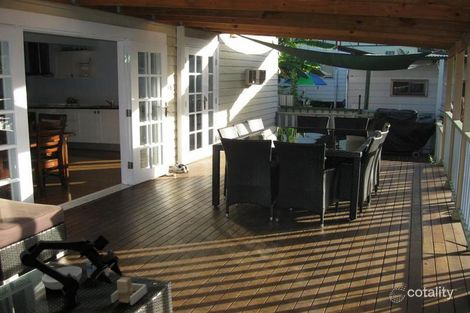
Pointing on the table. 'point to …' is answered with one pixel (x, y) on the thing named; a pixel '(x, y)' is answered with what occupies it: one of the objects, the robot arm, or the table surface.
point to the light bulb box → (92, 268)
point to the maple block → (124, 289)
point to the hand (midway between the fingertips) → (116, 279)
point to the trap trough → (138, 292)
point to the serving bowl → (72, 270)
